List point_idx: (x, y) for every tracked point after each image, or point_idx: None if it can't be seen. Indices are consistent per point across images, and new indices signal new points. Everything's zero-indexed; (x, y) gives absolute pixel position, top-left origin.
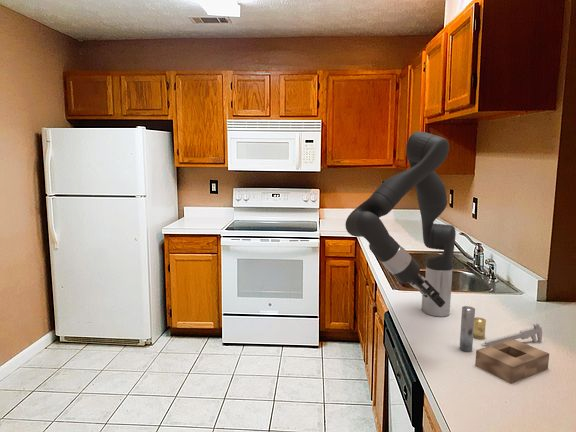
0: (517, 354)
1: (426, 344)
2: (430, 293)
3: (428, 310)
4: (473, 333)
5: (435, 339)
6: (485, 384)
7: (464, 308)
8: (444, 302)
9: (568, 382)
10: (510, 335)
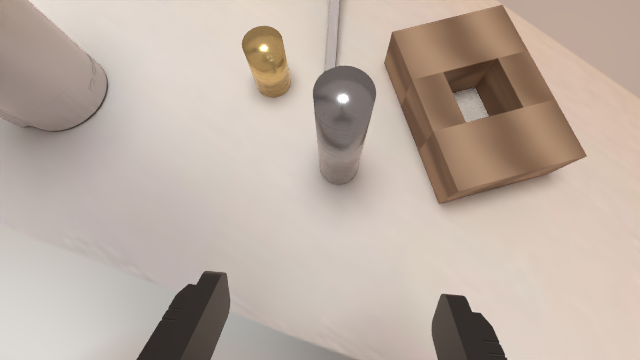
0: (463, 75)
1: (274, 271)
2: (225, 276)
3: (56, 122)
4: (268, 90)
5: (249, 218)
6: (551, 247)
7: (342, 112)
8: (464, 301)
9: (547, 41)
10: (333, 12)
